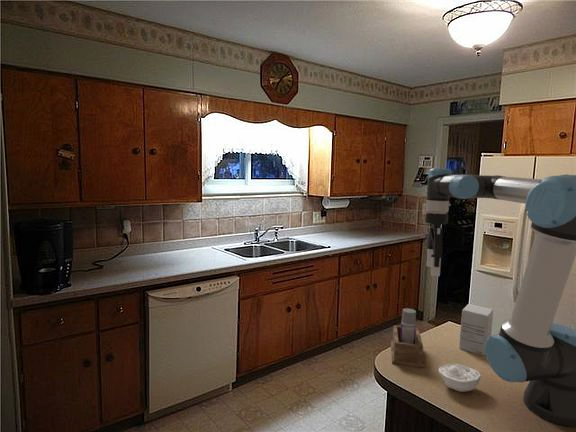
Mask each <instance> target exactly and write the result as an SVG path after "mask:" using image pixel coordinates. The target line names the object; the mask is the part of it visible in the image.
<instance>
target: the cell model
mask: <svg viewBox="0 0 576 432" xmlns="http://www.w3.org/2000/svg"><path fill="white" fill-rule="evenodd" d="M438 372H439V375H440V376H441V378H442V380H443V381H444V383H445V385H446V387H448V388H449V389H452V390H455V391H457V392H461V393H462V392H470V391H472V390H474V389H475V388H476V387H477V386H478V385H480V382H481V378H482V377H481V376H482V374H481V373H480V372H479V371H478V370H476V369H474V368H471V367H469V366H466V365H463V364H457V363H448V364H445V365H442V366H440V367H439V368H438Z"/></svg>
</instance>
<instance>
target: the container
mask: <svg viewBox="0 0 576 432" xmlns="http://www.w3.org/2000/svg"><path fill="white" fill-rule="evenodd" d="M401 313H402V315H401V321H400V326H401V336H400V342H402V343H410V344H414V337H415V328H416V321H417V320H416V318H417V317H416V316H417V311H416V310H415V309H413V308H408V307H407V308H403V309H402V312H401Z"/></svg>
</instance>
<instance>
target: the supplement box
mask: <svg viewBox="0 0 576 432" xmlns="http://www.w3.org/2000/svg"><path fill="white" fill-rule="evenodd" d="M493 316H494V308H489V307H485V306H484V307H483V306H481V305H480V306H479V305H476V304H471V303H468V304H466V306H465V307H464V308H463V309H462V310H461V319H460V322H461V323H460V330H459V331H460V332H459V343H458V344H459V345H458V346H459V347H458V349H460V350H463V351H467V352H470V353H474V354H477V355H480V356H483V357H486V353H485V343H486V340H487V339H488V338H489V337H490V336H492V330H493V319H494V317H493Z"/></svg>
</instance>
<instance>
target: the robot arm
mask: <svg viewBox="0 0 576 432" xmlns="http://www.w3.org/2000/svg"><path fill="white" fill-rule="evenodd" d="M452 173H453V172H452V170H451V169H450V168H431V169H429V170H428V177H427V186H426V187H427V190H426V202H425V204H426V205H425V211H426V213H425V217H424V221H425V223H427V224H429V227H428V228H429V229H428V238H427V244H426V245H427V253H426V265H425V266H426V267H429V268H431V270H430V276H432V277H440V275H441V264H442V257H443V231H444V229H443V227H441V225H448V223H449V214H448V213H449V207H451V205H452V204H451V203H450V198H456V199H460V200H461V199H463V200H465V199H491V200H492V199H493V200H500V201H506V202H511V203H519V204H524V205H525V207H524V208H525V211H526V212H527V213H526V216H527V218H528V219H529V221H531V224H530V229H531V230H532V231H533V233H534V234H535V237H534V240H533V243H532V247H531V249H530V253H529V257H528V260H527V263H526V267H525V270H524V273H523V277H522V279H521V282H520V287H519V291H518V293H517V297H516V299H515V303H514V307H513V309H512V313H511V316H510V318H507V319H505V320H503V322H502V323H501V326H500V329H499V332H498V334H491V336H490V337H489V338H488V339H487V340H486V343H485V353H486V355H485V357H486V360H487V362H488V364H489V366H490V368H491V369H492V371H493V372H494V373H495V375H496V376H498V377H499V378H500V379H502V380H503V381H505V382H509V383H525V382H528V384H527V386H526V387H525V389H524V391H523V403H524V405H525V406H526V407H527V409H529V411H531V412H532V413H534V414H535V415H537V416H538V417H540V418H542V419H545V420H546V421H549V422H551V423H554V424H557V425H560V426H565V427H571V428H576V329H575V328H572V327H569V326H565V325H562V324H558V323H554V320H555V317H556V315H557V311H558V310H559V309H558V308H559V306H560V303H561V300H562V297H563V294H564V292H565V288H566V286H567V282H568V280H569V277H570V273H571V271H572V268H573V265H574V262H575V259H576V174H561V175H551V176H547V177H545V178H542V179H541V178H530V177H529V178H528V177H518V176H517V177H515V176H504V175H498V174H497V175H495V174H494V175H482V174H478V175H477V174H462V173H461V174H452Z"/></svg>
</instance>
